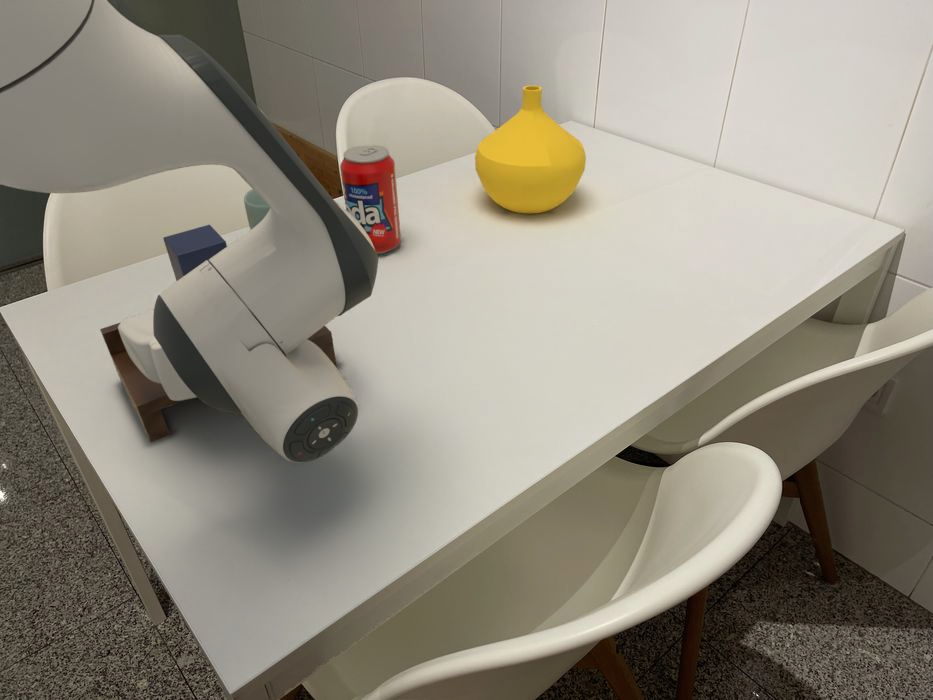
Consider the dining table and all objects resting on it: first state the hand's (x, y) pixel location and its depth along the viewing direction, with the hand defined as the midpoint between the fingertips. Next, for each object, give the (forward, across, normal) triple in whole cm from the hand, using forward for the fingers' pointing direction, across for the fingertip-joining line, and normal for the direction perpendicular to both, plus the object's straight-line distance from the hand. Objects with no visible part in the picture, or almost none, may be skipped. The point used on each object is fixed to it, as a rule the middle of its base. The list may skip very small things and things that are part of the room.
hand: (204, 283), depth 76 cm
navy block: (-1, 0, +7) cm, 7 cm away
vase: (+15, -59, +12) cm, 62 cm away
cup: (+23, -17, +12) cm, 31 cm away
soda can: (+17, -30, +12) cm, 37 cm away
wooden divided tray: (-1, 0, +12) cm, 12 cm away
